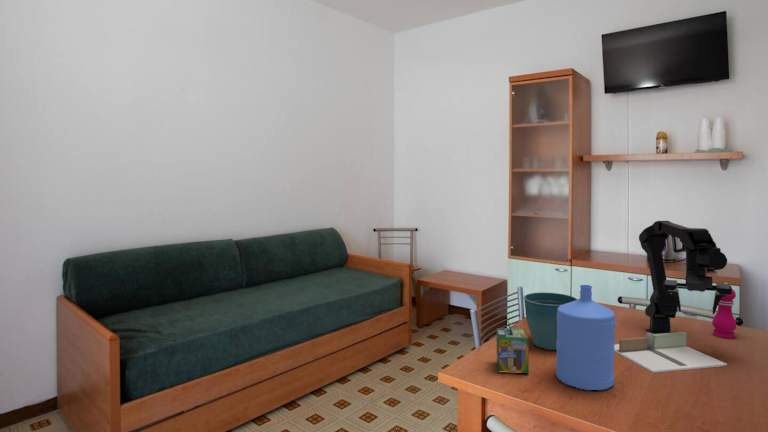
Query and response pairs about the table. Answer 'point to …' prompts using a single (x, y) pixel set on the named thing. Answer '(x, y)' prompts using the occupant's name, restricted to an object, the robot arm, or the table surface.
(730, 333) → the pepper mill
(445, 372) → the table surface
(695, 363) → the card
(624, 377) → the table surface
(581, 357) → the water jug
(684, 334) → the hinged panel
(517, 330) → the chalk box
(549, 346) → the flower pot
